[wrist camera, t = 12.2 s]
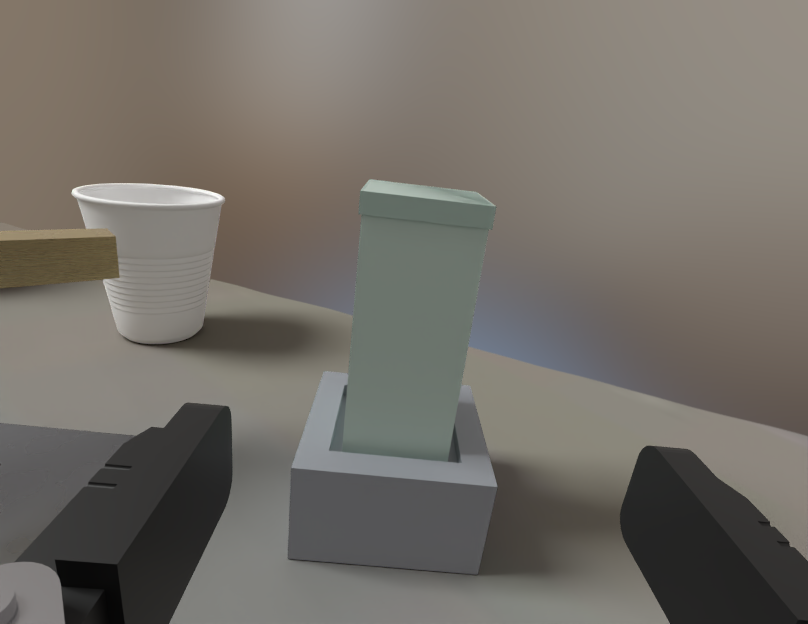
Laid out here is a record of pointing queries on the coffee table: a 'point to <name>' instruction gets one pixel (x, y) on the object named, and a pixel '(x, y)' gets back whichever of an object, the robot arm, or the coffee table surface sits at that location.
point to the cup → (156, 255)
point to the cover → (412, 316)
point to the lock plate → (44, 477)
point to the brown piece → (57, 256)
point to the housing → (389, 495)
